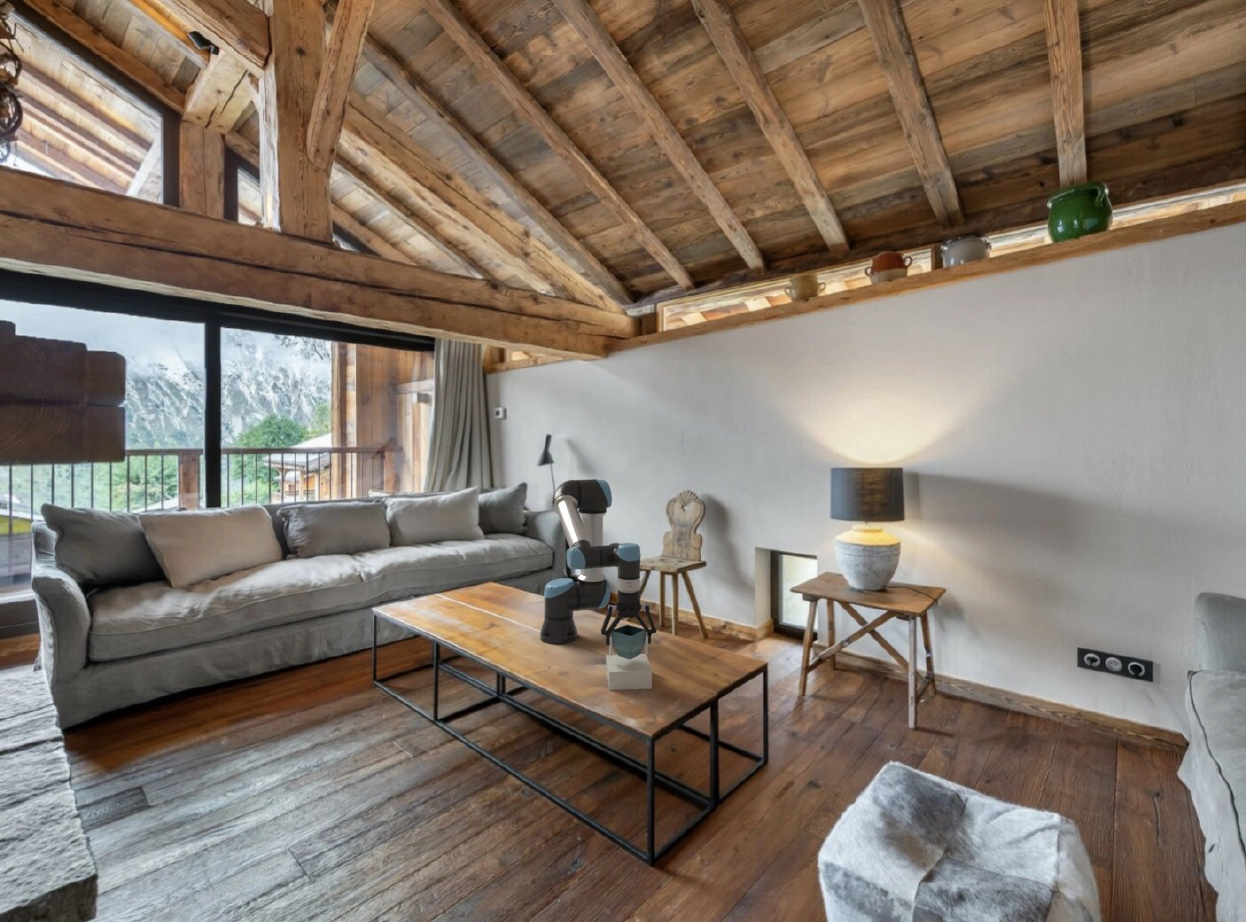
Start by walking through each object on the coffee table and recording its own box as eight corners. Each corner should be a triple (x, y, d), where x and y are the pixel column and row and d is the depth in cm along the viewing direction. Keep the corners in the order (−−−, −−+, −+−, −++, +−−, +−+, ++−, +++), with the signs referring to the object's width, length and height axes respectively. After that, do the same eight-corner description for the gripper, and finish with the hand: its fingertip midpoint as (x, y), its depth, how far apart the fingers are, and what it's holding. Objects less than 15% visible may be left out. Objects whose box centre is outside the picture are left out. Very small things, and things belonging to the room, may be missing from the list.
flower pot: (626, 649, 193) (626, 623, 193) (646, 655, 188) (647, 629, 188) (610, 656, 187) (610, 630, 186) (630, 663, 181) (630, 636, 181)
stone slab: (606, 672, 194) (606, 655, 194) (645, 670, 195) (645, 653, 195) (609, 690, 180) (609, 672, 180) (651, 688, 181) (651, 670, 181)
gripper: (593, 593, 181) (593, 659, 182) (665, 592, 184) (665, 657, 185) (592, 587, 189) (592, 650, 190) (661, 586, 191) (661, 648, 192)
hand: (628, 653), depth 187 cm, fingers closed on flower pot, 11 cm apart
